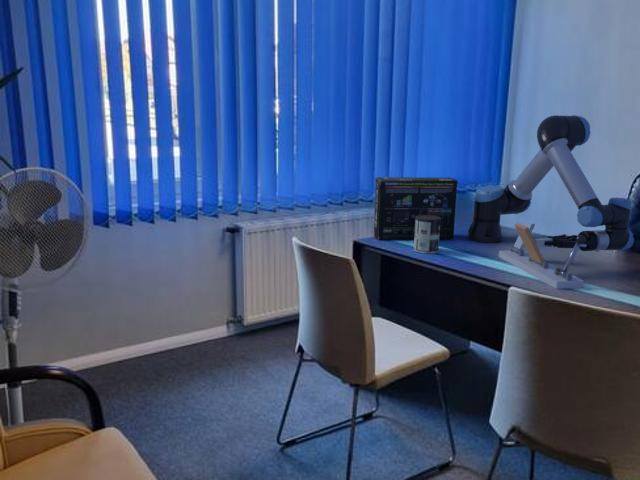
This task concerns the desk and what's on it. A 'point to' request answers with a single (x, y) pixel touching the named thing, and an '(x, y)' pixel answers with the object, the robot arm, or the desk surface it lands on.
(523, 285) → the desk surface
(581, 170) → the robot arm
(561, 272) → the grey metal toggle
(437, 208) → the router box
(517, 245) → the pale blue paddle
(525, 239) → the brown paddle
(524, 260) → the switch panel
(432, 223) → the coffee can
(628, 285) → the desk surface
